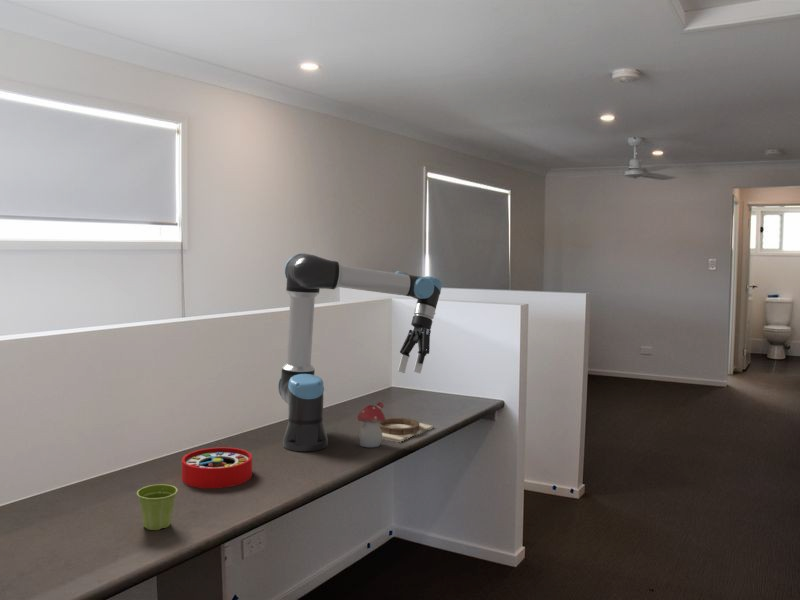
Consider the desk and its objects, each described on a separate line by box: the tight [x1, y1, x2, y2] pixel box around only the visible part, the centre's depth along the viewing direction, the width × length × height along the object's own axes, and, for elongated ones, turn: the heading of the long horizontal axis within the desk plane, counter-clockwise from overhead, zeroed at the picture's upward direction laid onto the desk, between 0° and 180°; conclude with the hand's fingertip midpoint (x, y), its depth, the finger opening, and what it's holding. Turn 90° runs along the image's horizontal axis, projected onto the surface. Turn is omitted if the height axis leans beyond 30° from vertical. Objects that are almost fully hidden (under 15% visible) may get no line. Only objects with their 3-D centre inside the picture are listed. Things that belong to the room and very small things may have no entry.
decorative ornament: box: [357, 401, 386, 448], centre depth 240 cm, size 9×7×15 cm
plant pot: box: [136, 483, 179, 531], centre depth 170 cm, size 9×9×9 cm
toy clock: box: [181, 446, 253, 489], centre depth 206 cm, size 20×6×20 cm
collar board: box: [379, 417, 434, 443], centre depth 259 cm, size 24×17×3 cm
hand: (408, 372), depth 258 cm, fingers open, 13 cm apart
